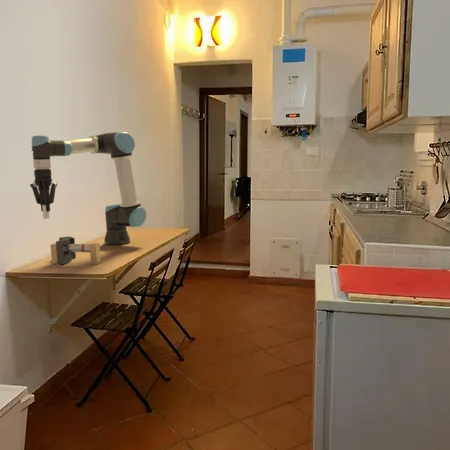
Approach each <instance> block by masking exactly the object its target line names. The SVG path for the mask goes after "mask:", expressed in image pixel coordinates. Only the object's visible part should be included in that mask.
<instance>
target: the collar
mask: <svg viewBox="0 0 450 450" xmlns="http://www.w3.org/2000/svg"><path fill="white" fill-rule="evenodd" d="M55 243H56V251H57V263H58V264H57V265H65V264H67V263H69V262H71V261H72V259H71V252H64V248H63V245H65V244H70V239H62V240H59V239H58V240H57V241H55Z"/></svg>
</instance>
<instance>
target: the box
mask: <svg viewBox="0 0 450 450" xmlns="http://www.w3.org/2000/svg"><path fill="white" fill-rule="evenodd" d="M62 239H70V244H76V243H75V242H76V241H75V237H74V236H73V237H72V236H61V237H59V238H58V241H59V240H62ZM76 254H77V252H71V260H72V259H76V258H77V257H76Z"/></svg>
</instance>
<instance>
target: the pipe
mask: <svg viewBox="0 0 450 450" xmlns="http://www.w3.org/2000/svg"><path fill="white" fill-rule="evenodd" d="M63 248H64V252H75V253H89V254H90V265H98V264H101V262H102V261H101V249H100V243H99V242H94V243H75V244H65V245H63ZM50 255H51V256H50V257H51V265H59V264H58V263H57V251H56V242H55V243H51V244H50Z"/></svg>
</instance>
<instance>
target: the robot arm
mask: <svg viewBox="0 0 450 450" xmlns="http://www.w3.org/2000/svg"><path fill="white" fill-rule="evenodd" d="M135 147H136V143H135V140H134V138H133V135H132V134H130V133H129V132H126V131H116V132H115V131H114V132H107V133H102V134H101V133H100V134H97V135H96V134H95V135H90V136H88V138H87V137H85V138H75V139H63V140H62V139H61V140H55V139H54V140H50V138H49V135H33V136H32V137H31V148H32V150H31V152H32V151H33V153H32V159H33V161H32V162H33V163H32V164H33V168H34V170H33V173H34V180H33V181H34V182H32V183H30V184H29V187H30V188H31V189H32V192H33V195H34V199H35V201H36V204H37V205H40V209H41V212H42V216H43V217H42V218H43V220H46V219H50V212H51V204H54V202H55V196H56V189H57V186H58V183H57V182H54V181H53V179H52V169H51V168H52V167H51V163H52V162H51V157H68V156H71V155H73V154H84V153H85V154H86V153H90V154H107V155H110V158H111V160H113V161H114V165H115V170H116V177H117V182H118V188H119V193H120V198H121V203H120V204H112V205H106V207H105V213H104V214H105V227H106V228H105V229H106V231H105V236H104V240H103V241H104V245H106V246H118V245H119V246H120V245H127V244H130V243H131V237H130V235H129V233H128V230H127V227H129V228H140V227H141V226H143V225H144V224H145V222H146V220H147V211H146V208H144V207H143V206H142V205H141V202H140V201H139V200H138V198H137V192H136V186H135V180H134V176H133V175H134V174H133V169H132V162H131V158H132V156H133V153H132V152H134V150H135Z"/></svg>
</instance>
